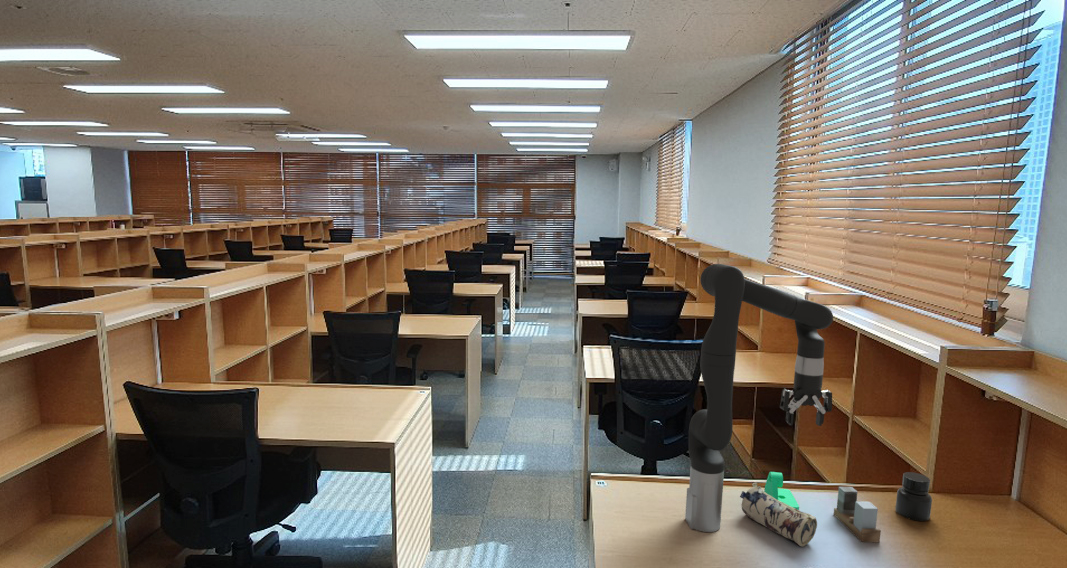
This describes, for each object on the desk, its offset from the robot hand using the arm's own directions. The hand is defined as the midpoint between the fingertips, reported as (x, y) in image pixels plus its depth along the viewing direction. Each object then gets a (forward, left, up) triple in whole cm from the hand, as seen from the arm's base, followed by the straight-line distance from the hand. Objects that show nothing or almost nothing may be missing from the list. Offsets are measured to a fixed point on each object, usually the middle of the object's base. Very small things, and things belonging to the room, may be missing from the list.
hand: (804, 424), depth 176 cm
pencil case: (-10, -9, -28) cm, 31 cm away
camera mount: (-2, +6, -28) cm, 29 cm away
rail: (+14, -7, -28) cm, 32 cm away
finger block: (+14, -11, -26) cm, 32 cm away
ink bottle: (+36, +1, -28) cm, 46 cm away
